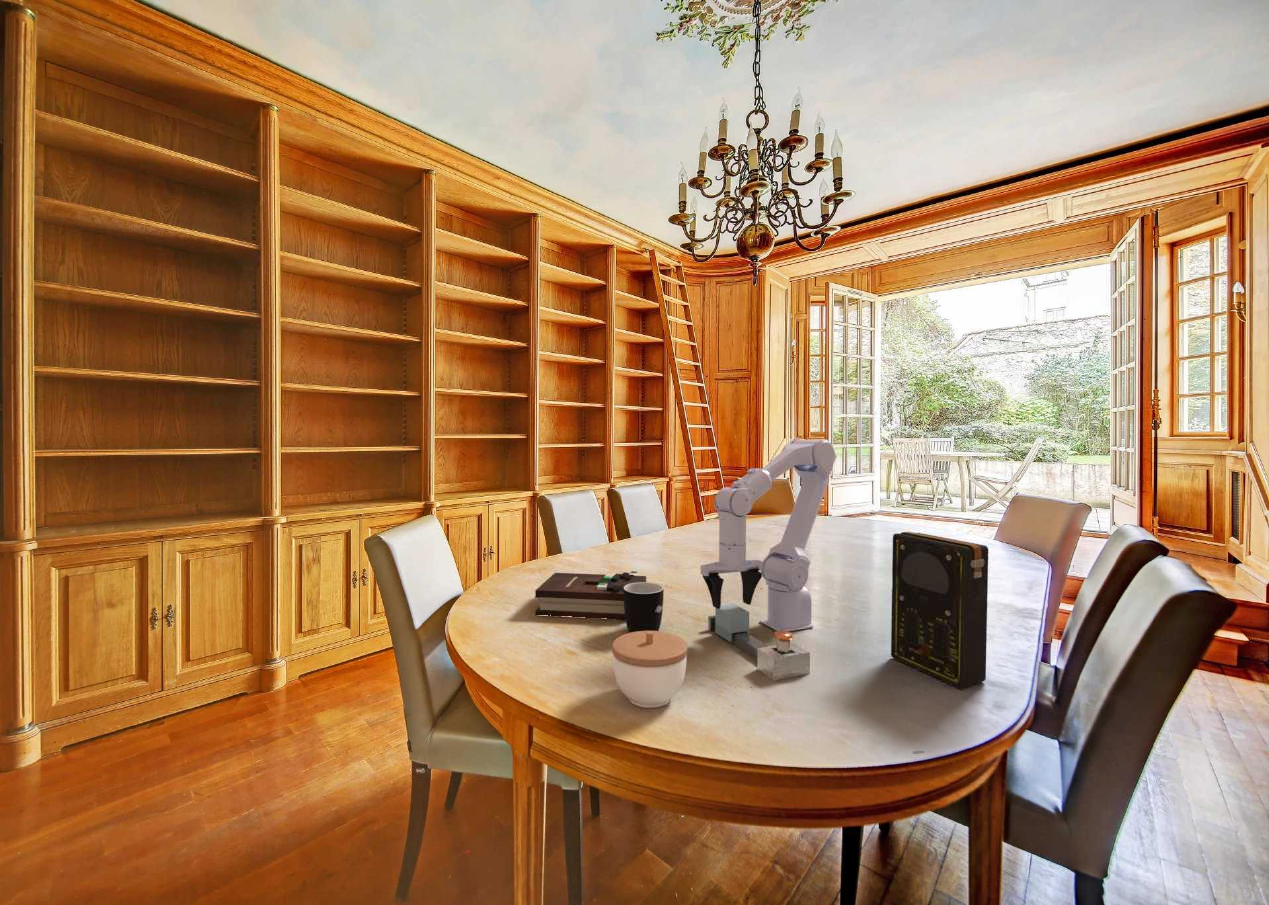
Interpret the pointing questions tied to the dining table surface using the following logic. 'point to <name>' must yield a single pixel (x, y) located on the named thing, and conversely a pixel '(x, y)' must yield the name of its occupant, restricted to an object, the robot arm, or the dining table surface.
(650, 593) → the mug
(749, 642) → the rail
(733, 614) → the carriage
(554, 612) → the decorative book
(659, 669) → the lidded bowl
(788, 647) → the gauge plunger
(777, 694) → the dining table surface
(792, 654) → the grey rectangular block
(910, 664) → the voltmeter
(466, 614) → the dining table surface
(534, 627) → the dining table surface
